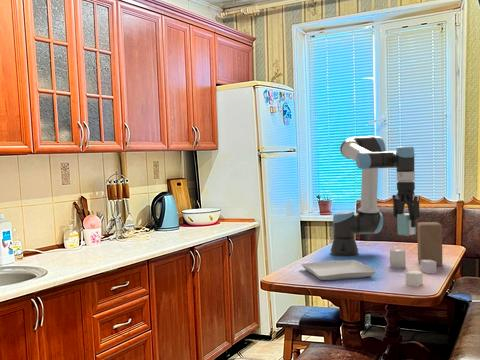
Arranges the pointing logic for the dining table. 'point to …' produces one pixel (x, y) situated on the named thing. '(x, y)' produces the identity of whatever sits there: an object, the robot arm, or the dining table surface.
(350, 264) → the square plate
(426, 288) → the dining table surface
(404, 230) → the teal block
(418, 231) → the block
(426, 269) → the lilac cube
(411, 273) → the cream cube
